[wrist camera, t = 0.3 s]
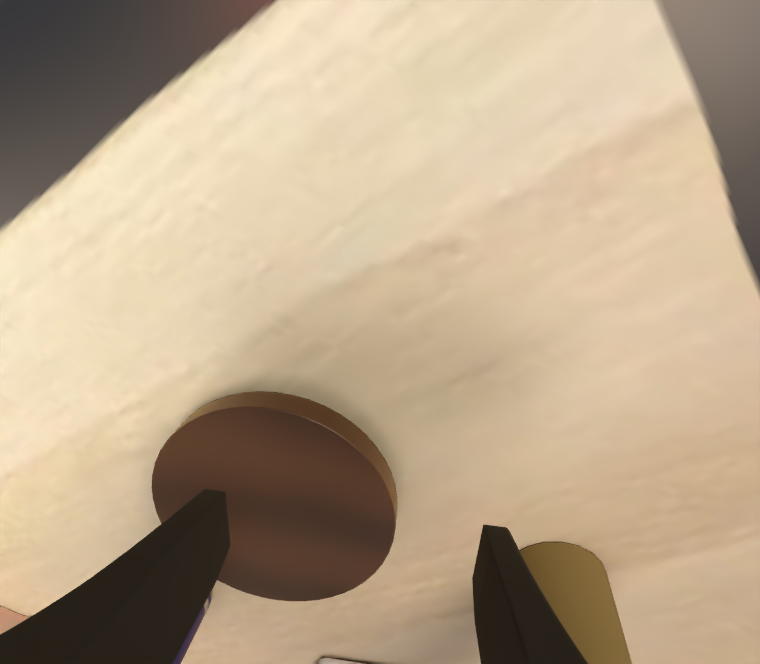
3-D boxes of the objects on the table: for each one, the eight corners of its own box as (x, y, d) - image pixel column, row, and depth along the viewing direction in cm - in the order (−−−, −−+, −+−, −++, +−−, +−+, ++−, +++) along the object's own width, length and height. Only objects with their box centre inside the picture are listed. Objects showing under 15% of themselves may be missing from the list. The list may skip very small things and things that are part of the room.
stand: (391, 576, 26) (387, 616, 24) (190, 549, 27) (168, 585, 25) (407, 394, 21) (404, 422, 19) (162, 370, 22) (132, 393, 20)
